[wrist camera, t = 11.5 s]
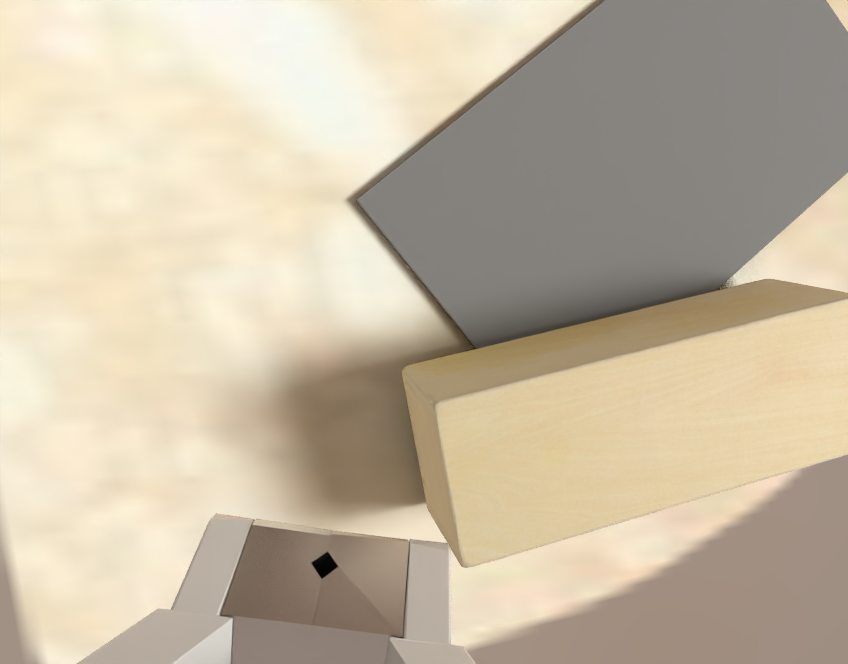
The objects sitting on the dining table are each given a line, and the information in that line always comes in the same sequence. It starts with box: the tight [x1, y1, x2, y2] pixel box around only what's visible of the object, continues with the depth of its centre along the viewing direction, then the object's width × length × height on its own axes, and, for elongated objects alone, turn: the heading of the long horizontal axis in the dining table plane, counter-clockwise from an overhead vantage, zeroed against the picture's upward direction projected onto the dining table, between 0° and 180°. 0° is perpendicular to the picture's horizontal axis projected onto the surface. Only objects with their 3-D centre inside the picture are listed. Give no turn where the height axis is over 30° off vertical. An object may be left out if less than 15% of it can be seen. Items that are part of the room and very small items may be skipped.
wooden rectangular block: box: [402, 279, 848, 568], centre depth 37 cm, size 8×7×21 cm
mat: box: [356, 0, 848, 349], centre depth 41 cm, size 28×16×1 cm, turn 130°
